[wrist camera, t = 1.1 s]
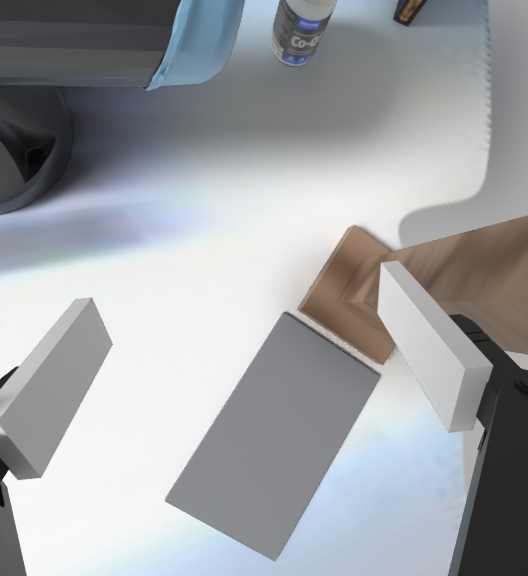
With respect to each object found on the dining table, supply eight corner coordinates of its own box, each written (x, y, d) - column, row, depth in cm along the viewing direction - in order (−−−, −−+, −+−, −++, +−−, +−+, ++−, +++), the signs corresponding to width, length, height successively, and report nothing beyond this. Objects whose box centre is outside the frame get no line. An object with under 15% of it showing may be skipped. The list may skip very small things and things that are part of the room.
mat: (274, 558, 32) (274, 561, 31) (165, 498, 30) (164, 501, 30) (378, 375, 34) (380, 376, 34) (283, 312, 33) (284, 312, 32)
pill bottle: (283, 75, 34) (310, 1, 26) (261, 32, 34) (280, -55, 25) (322, 57, 35) (359, -19, 26) (300, 16, 34) (331, -74, 26)
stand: (375, 362, 34) (1436, 731, 5) (296, 309, 33) (1088, 369, 4) (421, 282, 36) (1468, 186, 6) (347, 228, 34) (1227, -220, 5)
